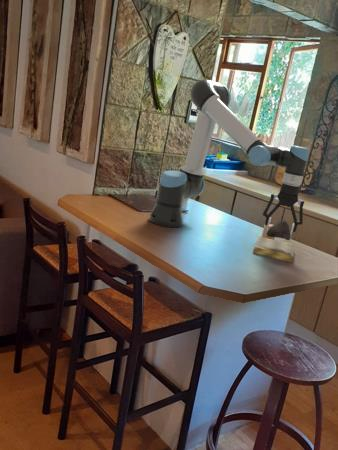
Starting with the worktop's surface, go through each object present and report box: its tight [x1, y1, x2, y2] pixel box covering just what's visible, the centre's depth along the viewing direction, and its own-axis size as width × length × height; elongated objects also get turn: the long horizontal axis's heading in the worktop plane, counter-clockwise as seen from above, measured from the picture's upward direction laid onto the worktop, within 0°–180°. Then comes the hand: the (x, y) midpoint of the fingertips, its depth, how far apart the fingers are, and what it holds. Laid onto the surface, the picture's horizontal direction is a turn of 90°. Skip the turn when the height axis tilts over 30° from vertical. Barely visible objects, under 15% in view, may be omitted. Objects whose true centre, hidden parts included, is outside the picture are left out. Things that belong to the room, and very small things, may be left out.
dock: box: [252, 235, 295, 263], centre depth 189 cm, size 16×18×3 cm
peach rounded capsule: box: [261, 223, 276, 240], centre depth 205 cm, size 6×6×7 cm
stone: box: [267, 220, 291, 241], centre depth 186 cm, size 10×8×10 cm
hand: (278, 235), depth 187 cm, fingers closed on stone, 9 cm apart
